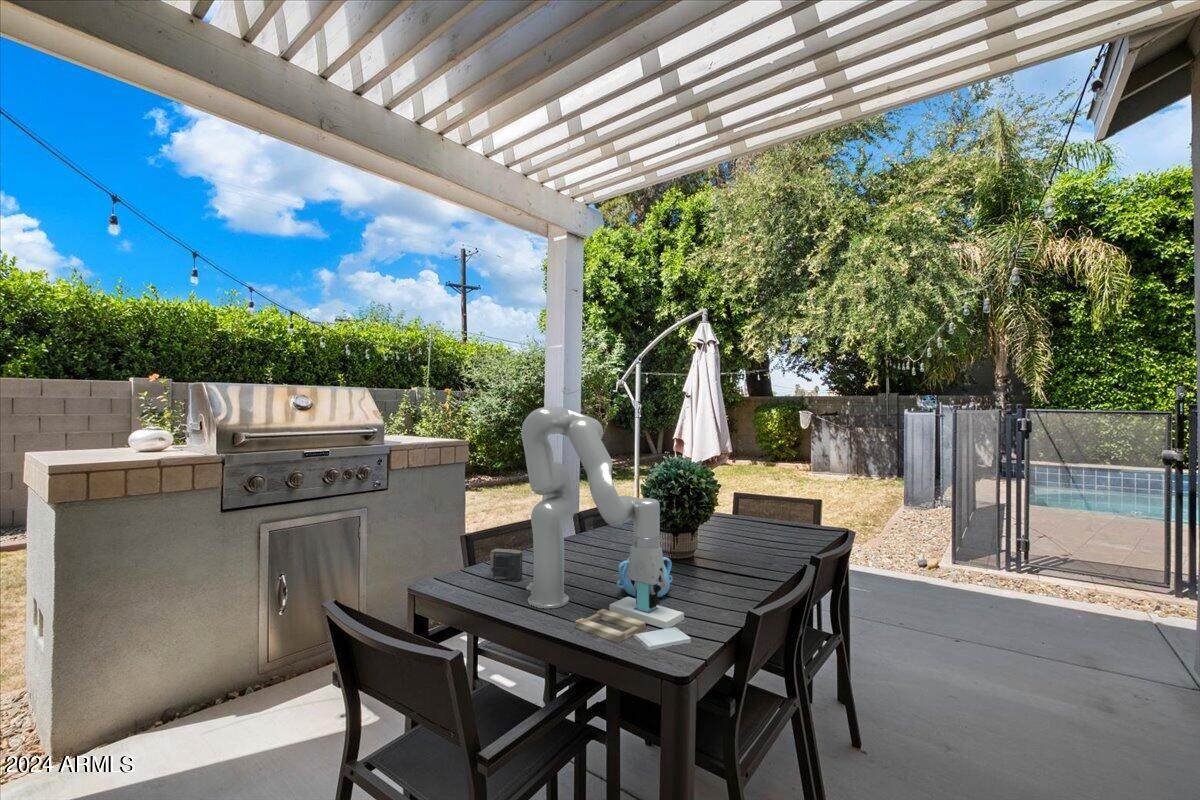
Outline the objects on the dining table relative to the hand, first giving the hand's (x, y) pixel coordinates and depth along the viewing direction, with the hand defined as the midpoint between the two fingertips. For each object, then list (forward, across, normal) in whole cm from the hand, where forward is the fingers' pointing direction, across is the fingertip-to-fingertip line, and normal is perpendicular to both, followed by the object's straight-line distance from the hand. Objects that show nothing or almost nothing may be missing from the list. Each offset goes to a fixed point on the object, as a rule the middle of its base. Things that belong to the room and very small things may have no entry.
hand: (646, 604), depth 160 cm
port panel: (+3, 0, 0) cm, 3 cm away
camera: (+3, -56, -5) cm, 56 cm away
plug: (+1, 0, 0) cm, 1 cm away
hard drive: (+4, +13, -11) cm, 17 cm away
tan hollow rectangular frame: (+3, -2, -14) cm, 15 cm away
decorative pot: (+3, -11, +15) cm, 19 cm away
